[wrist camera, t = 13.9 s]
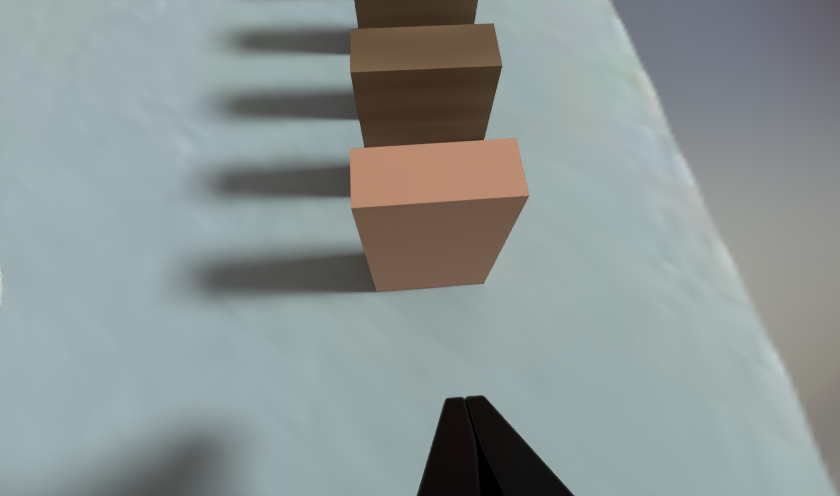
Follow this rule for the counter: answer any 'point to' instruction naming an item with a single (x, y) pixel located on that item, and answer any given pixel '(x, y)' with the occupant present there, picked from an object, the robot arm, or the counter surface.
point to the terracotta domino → (435, 210)
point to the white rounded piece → (1, 285)
